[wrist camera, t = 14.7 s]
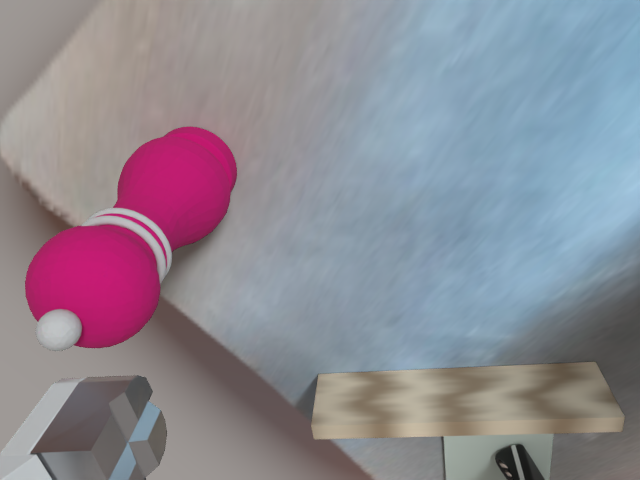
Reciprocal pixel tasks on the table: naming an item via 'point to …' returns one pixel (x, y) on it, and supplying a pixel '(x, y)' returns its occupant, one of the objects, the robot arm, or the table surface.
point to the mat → (492, 454)
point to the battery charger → (517, 464)
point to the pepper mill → (130, 242)
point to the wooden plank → (465, 402)
